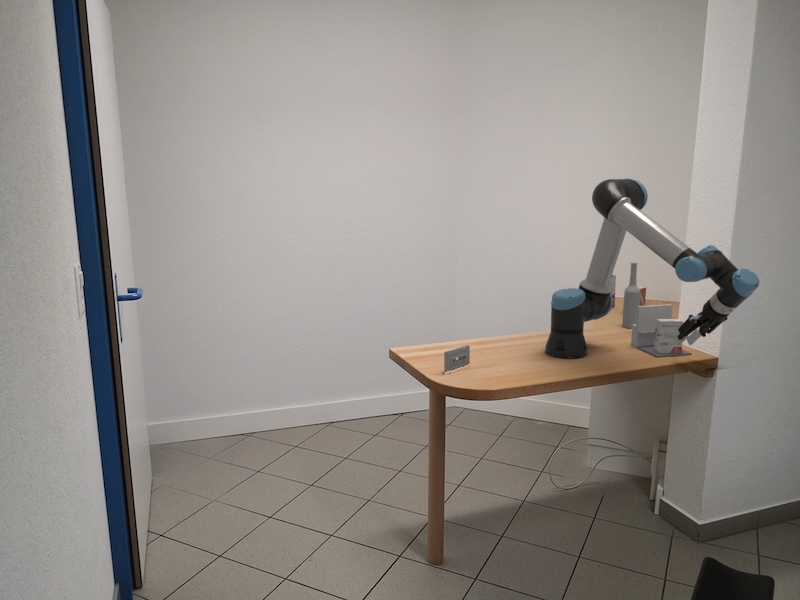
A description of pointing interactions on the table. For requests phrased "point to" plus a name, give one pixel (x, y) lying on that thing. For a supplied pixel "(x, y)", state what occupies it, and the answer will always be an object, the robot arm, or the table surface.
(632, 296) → the bottle
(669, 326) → the ink box
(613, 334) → the table surface
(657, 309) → the grey display stand
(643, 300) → the small box
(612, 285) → the candy bar box
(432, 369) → the table surface
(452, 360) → the cassette
